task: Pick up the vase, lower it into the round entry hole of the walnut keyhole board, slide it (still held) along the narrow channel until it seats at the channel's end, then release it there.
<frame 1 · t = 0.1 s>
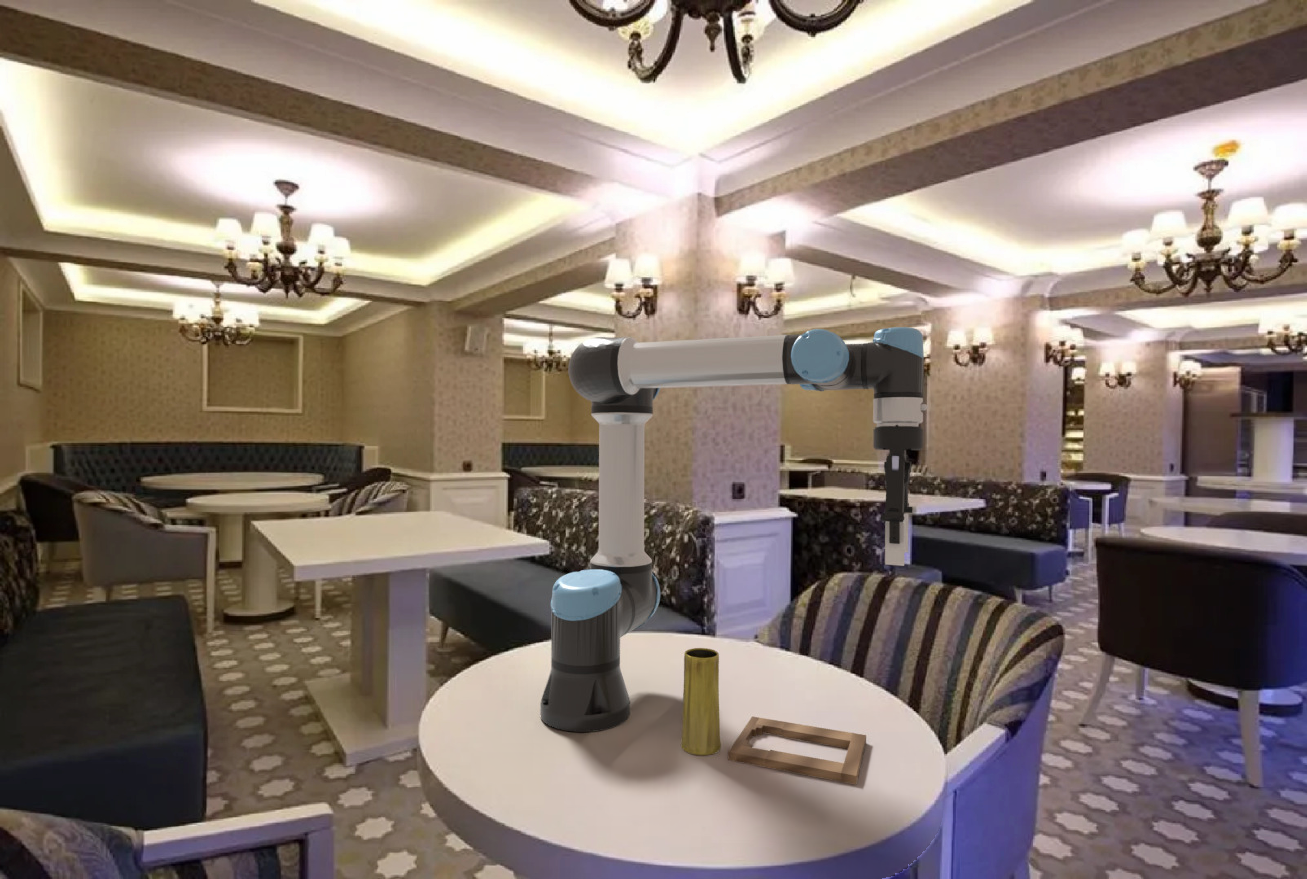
hand: (897, 558, 109), 28 cm above the table, fingers open, 13 cm apart
vase: (700, 748, 103), on the table
keyhole board: (799, 751, 102), on the table
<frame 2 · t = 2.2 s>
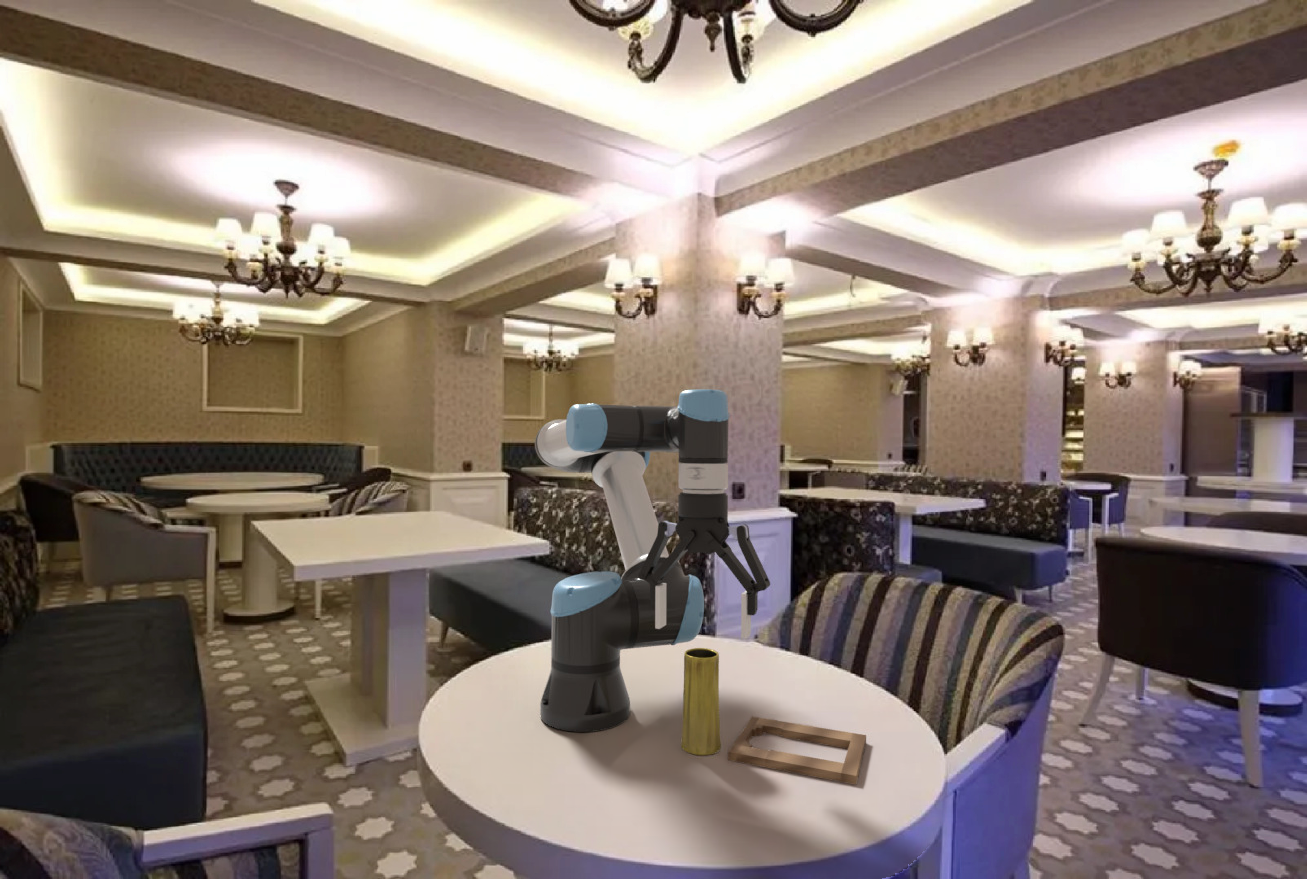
hand: (702, 631, 103), 18 cm above the table, fingers open, 13 cm apart
nothing on the table moved.
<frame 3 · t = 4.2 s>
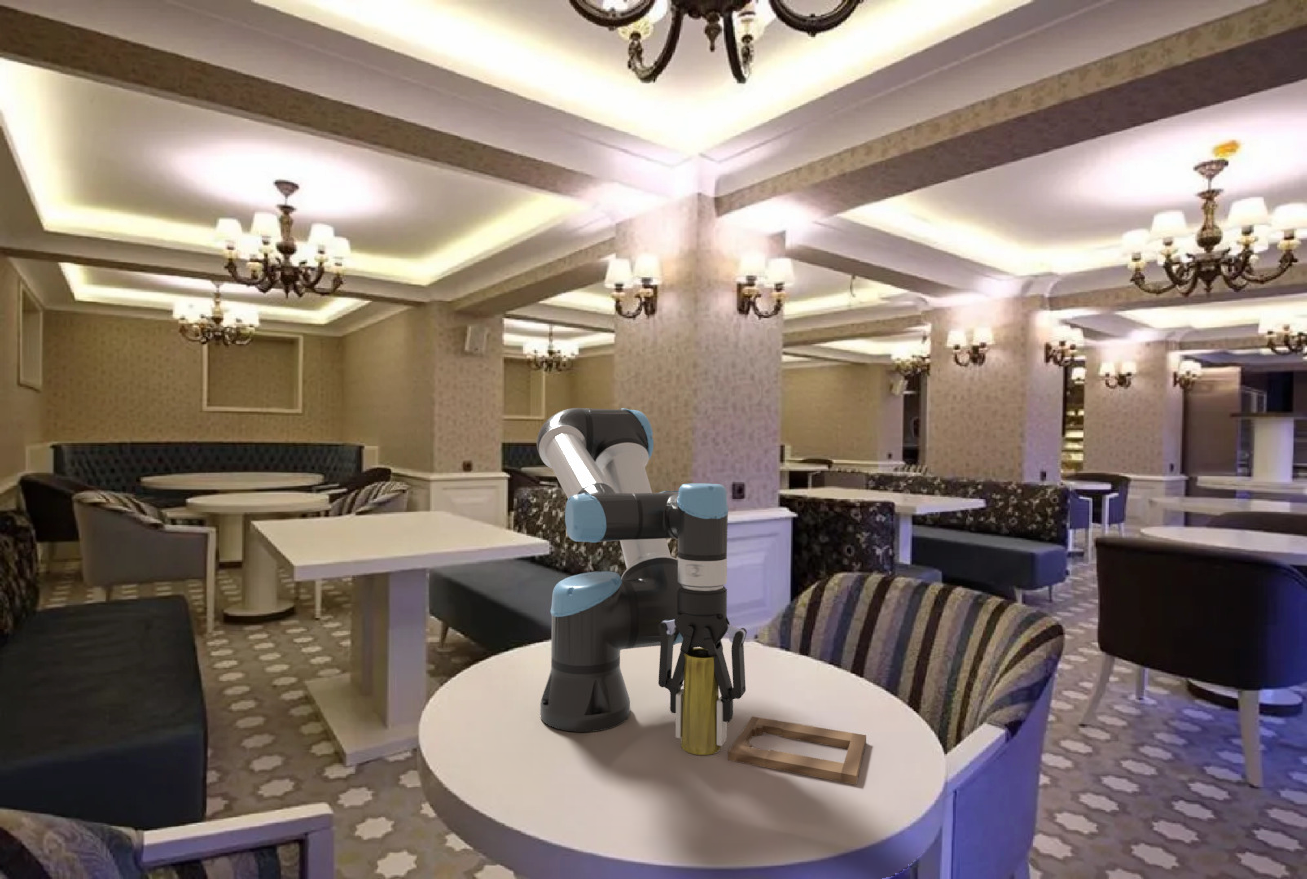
hand: (701, 737, 103), 1 cm above the table, fingers closed on vase, 6 cm apart
vase: (700, 748, 103), on the table, touching gripper
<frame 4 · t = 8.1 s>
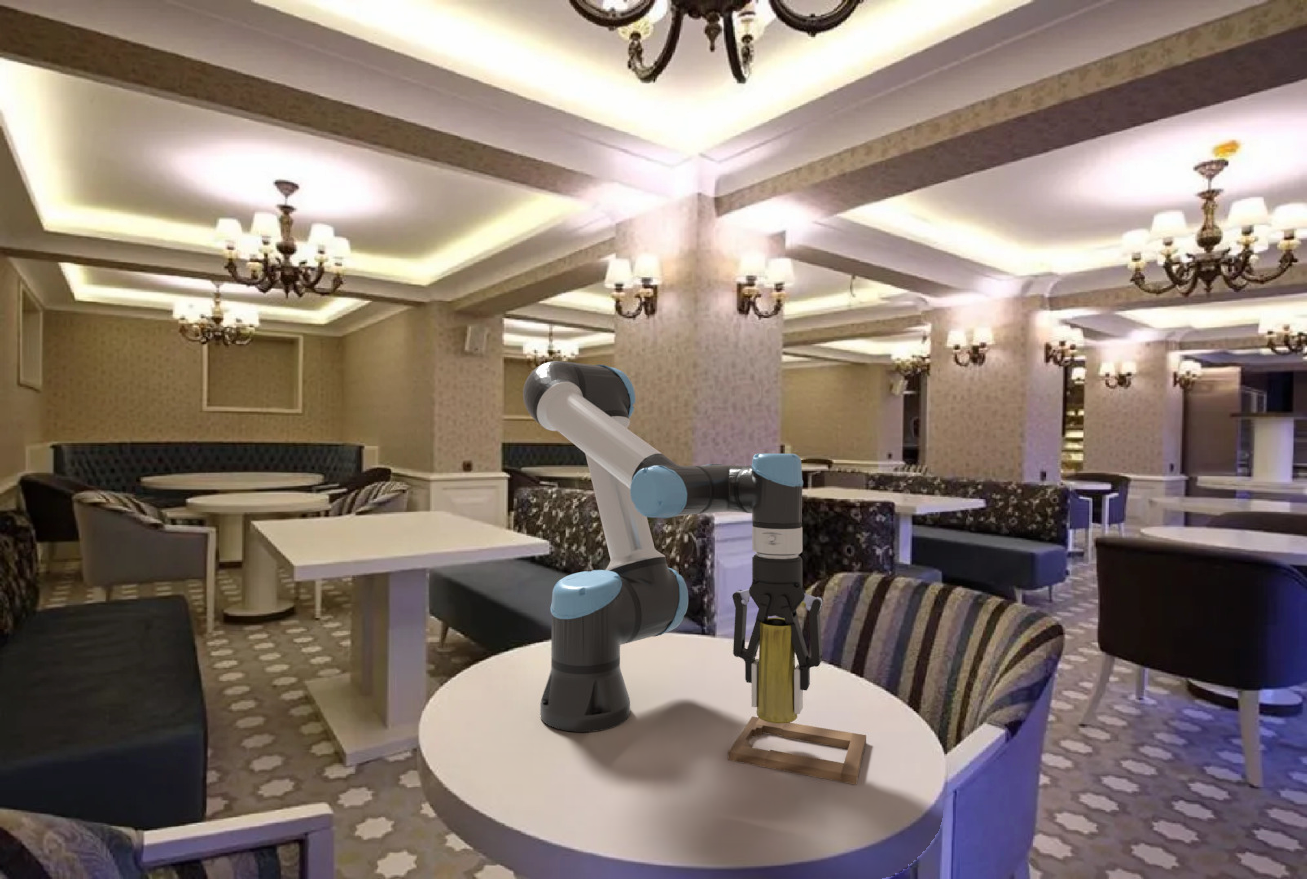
hand: (777, 706, 103), 6 cm above the table, fingers closed on vase, 6 cm apart
vase: (776, 717, 103), point 5 cm above the table, touching gripper
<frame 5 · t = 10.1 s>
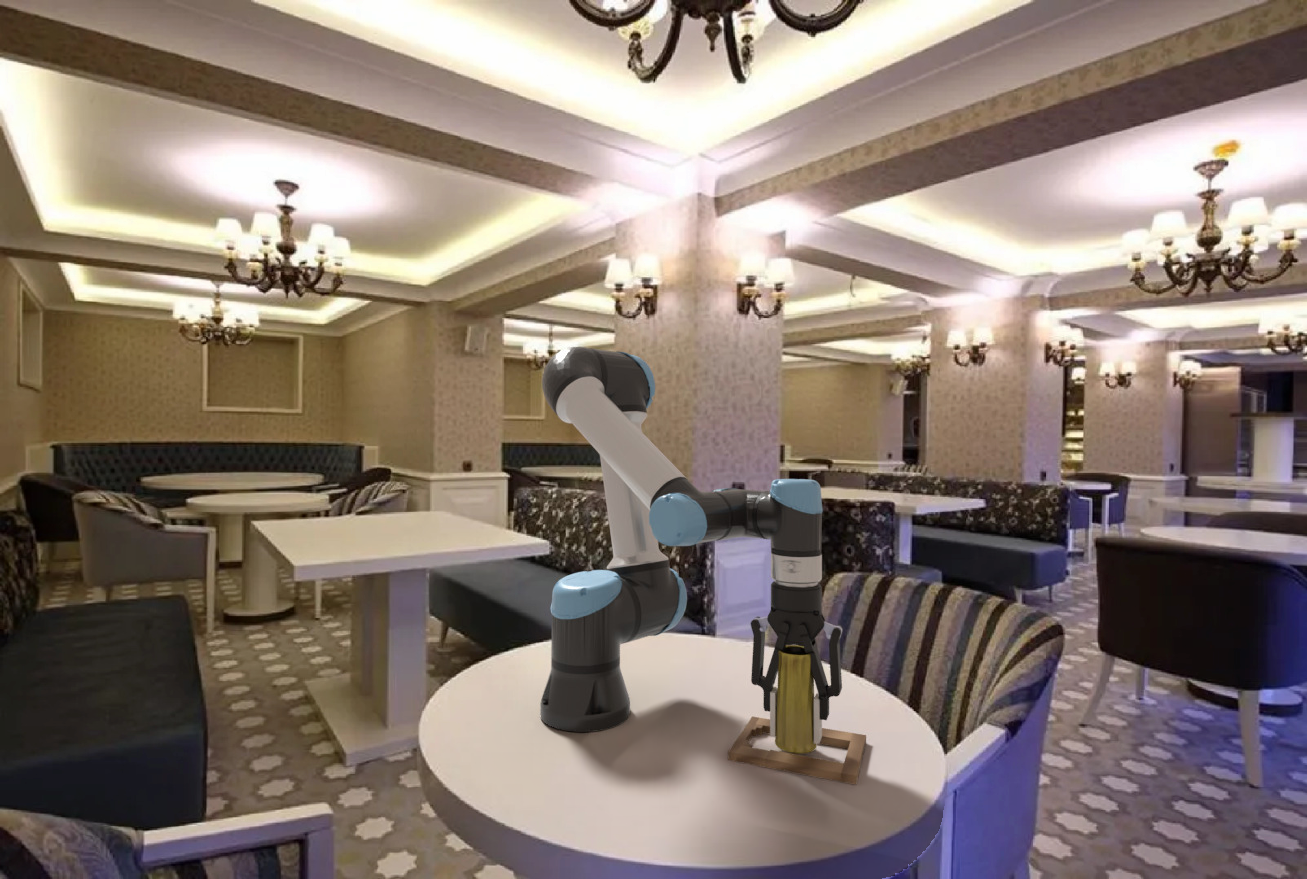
hand: (795, 735, 102), 2 cm above the table, fingers closed on vase, 6 cm apart
vase: (795, 746, 102), point 1 cm above the table, touching gripper
when the fingers open (2 cm above the table, at t = 11.9 s): vase stays where it is, resting in keyhole board.
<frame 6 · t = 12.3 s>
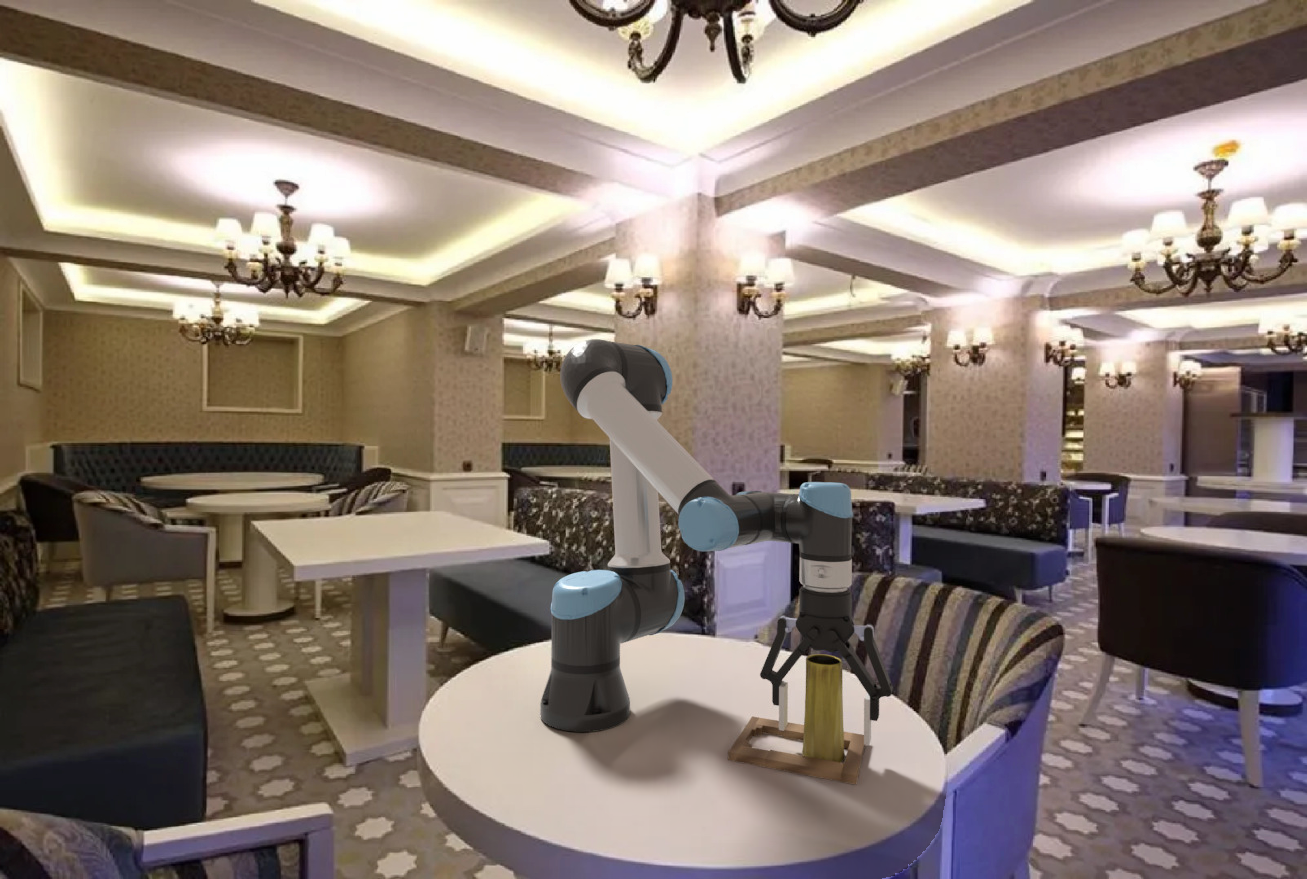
hand: (824, 733, 101), 3 cm above the table, fingers open, 11 cm apart
vase: (823, 757, 101), resting in keyhole board
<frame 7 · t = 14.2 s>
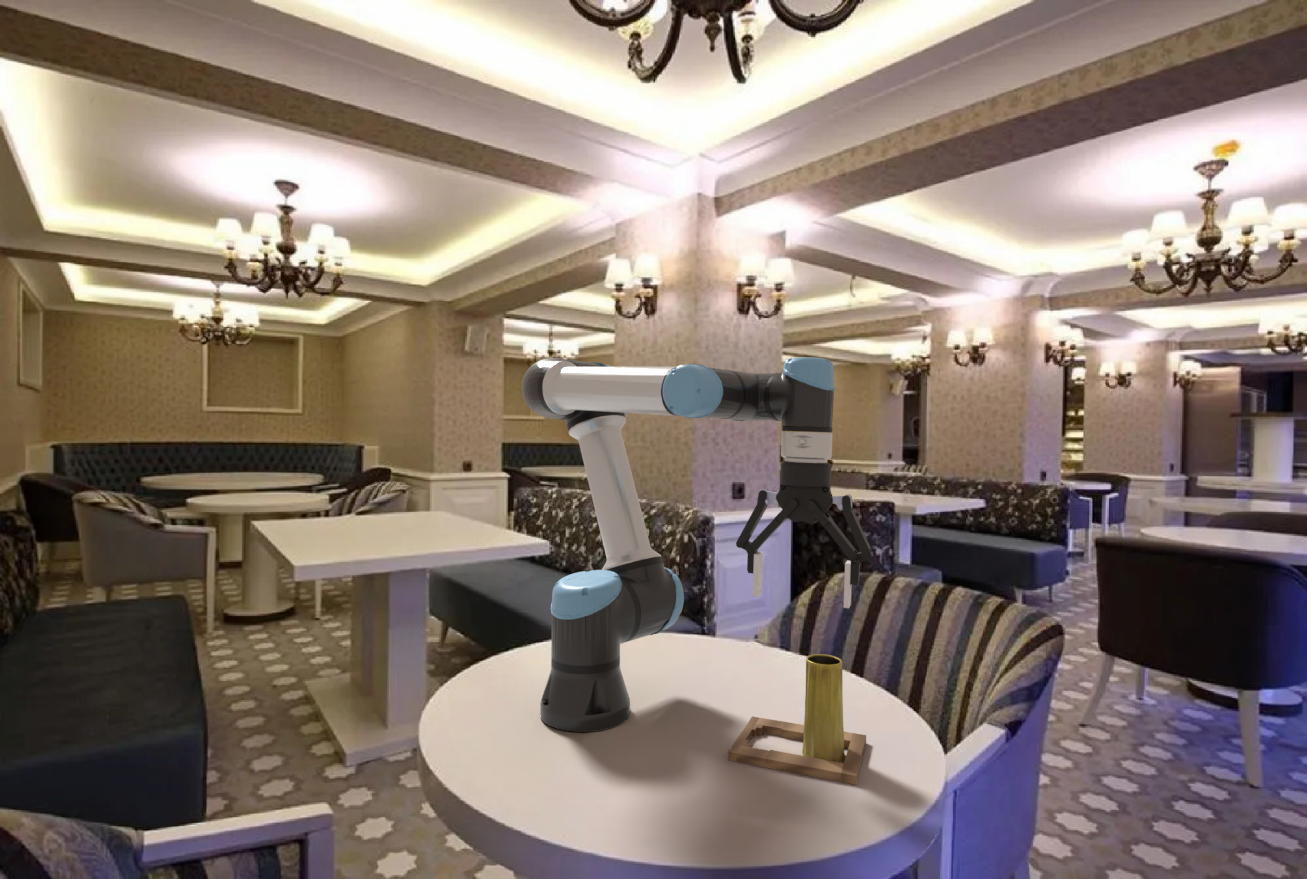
hand: (801, 600, 103), 22 cm above the table, fingers open, 13 cm apart
nothing on the table moved.
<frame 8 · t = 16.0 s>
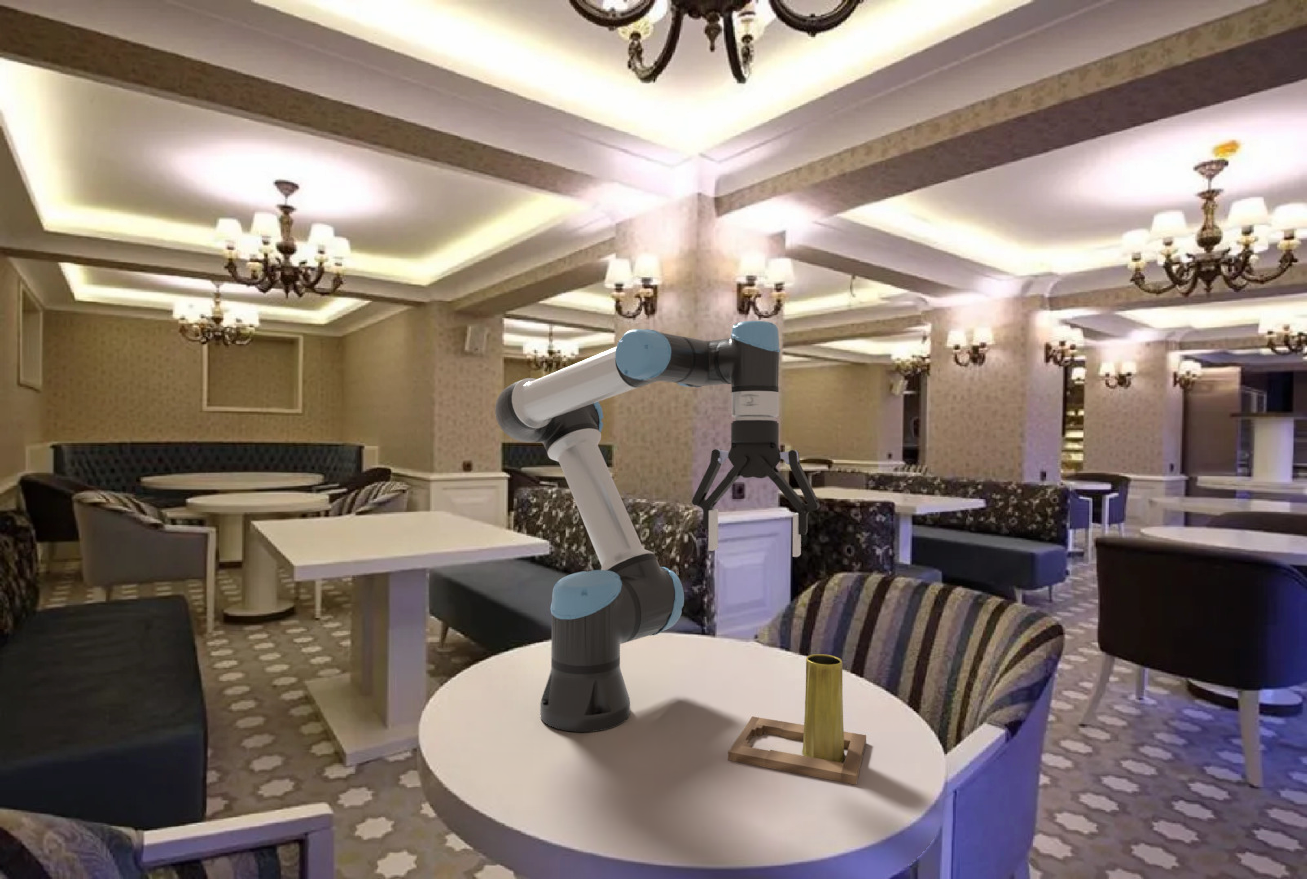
hand: (753, 552, 108), 29 cm above the table, fingers open, 13 cm apart
nothing on the table moved.
at the end: vase 0.4 cm from the target spot, resting in keyhole board; vase tilted 0°; the gripper is holding nothing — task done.
